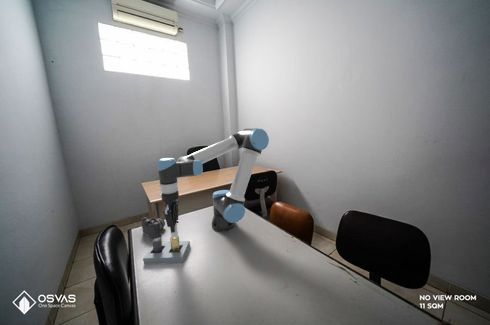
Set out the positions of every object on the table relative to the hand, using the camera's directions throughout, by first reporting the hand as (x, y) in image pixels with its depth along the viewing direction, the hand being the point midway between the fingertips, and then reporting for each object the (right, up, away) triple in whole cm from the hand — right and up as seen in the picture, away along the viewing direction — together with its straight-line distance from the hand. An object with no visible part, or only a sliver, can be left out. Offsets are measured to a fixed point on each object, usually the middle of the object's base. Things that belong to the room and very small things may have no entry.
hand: (174, 236), depth 85 cm
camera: (-20, -7, +21) cm, 30 cm away
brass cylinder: (0, -9, +2) cm, 9 cm away
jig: (-4, -10, +2) cm, 10 cm away
